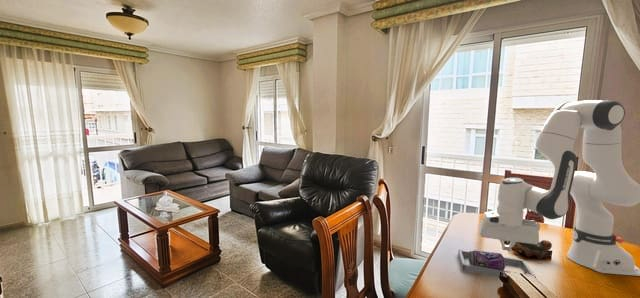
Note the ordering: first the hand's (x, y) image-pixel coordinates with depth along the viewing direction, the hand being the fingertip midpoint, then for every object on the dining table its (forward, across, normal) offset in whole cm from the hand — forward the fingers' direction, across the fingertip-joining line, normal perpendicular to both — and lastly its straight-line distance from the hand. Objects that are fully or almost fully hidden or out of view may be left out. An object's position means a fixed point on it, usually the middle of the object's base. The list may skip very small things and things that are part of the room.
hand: (506, 249), depth 111 cm
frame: (+9, +4, 0) cm, 10 cm away
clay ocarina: (+9, -14, -18) cm, 24 cm away
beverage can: (+5, +1, +2) cm, 5 cm away
